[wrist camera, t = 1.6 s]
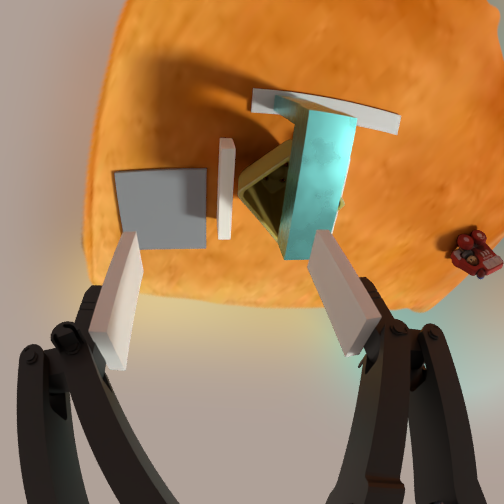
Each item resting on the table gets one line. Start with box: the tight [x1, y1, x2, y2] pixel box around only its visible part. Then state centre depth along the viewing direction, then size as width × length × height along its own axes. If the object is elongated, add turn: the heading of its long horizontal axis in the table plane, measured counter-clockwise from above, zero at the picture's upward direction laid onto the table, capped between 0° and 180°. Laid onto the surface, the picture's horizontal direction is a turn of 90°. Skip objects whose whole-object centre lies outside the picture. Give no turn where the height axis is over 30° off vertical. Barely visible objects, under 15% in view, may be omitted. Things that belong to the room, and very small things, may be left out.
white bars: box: [217, 88, 401, 239], centre depth 33 cm, size 18×24×5 cm
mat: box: [114, 168, 207, 250], centre depth 36 cm, size 12×12×1 cm
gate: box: [273, 94, 358, 260], centre depth 28 cm, size 14×4×14 cm, turn 175°
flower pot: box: [238, 139, 345, 243], centre depth 32 cm, size 9×9×9 cm
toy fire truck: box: [451, 230, 503, 279], centre depth 46 cm, size 7×12×10 cm, turn 101°
